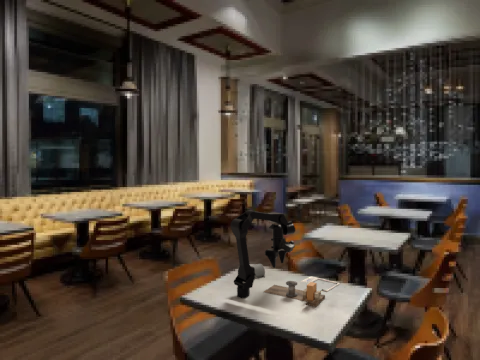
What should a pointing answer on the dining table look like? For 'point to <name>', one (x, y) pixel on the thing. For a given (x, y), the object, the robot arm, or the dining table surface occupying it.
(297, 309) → the dining table surface
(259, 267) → the ceramic mug
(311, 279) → the photo frame
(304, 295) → the winding board
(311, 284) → the orange brown block
